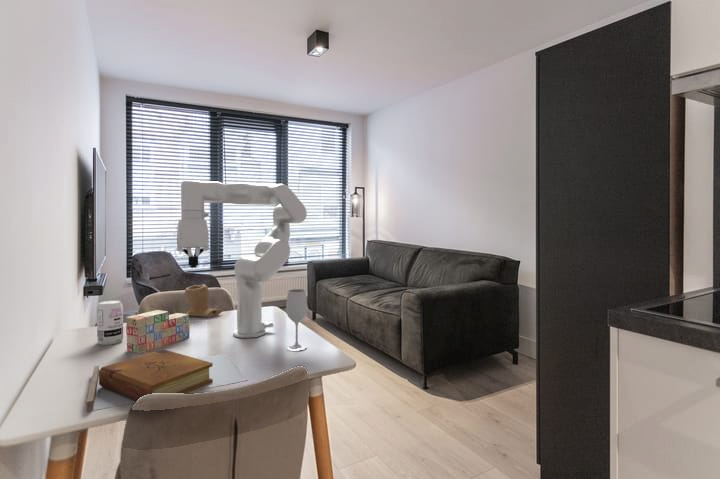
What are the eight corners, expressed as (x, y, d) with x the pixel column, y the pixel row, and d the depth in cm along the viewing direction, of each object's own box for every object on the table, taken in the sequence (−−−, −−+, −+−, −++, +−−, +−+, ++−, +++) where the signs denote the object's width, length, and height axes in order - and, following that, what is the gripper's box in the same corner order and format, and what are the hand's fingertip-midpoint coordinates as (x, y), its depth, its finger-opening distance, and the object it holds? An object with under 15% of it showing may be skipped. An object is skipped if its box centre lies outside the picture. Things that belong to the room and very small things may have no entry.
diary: (99, 388, 108) (98, 367, 108) (163, 367, 124) (162, 348, 124) (149, 409, 96) (149, 385, 96) (212, 382, 113) (212, 362, 112)
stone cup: (179, 317, 185) (179, 285, 185) (197, 312, 197) (197, 282, 196) (206, 320, 181) (205, 288, 180) (222, 314, 192) (222, 284, 191)
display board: (227, 354, 137) (227, 346, 136) (247, 381, 114) (247, 371, 114) (94, 375, 117) (94, 366, 117) (87, 412, 95) (86, 401, 95)
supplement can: (105, 338, 152) (104, 300, 151) (127, 338, 152) (126, 300, 152) (92, 345, 144) (91, 304, 143) (116, 345, 144) (115, 304, 143)
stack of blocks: (178, 335, 157) (178, 305, 157) (189, 337, 155) (189, 306, 154) (126, 351, 138) (125, 316, 138) (138, 354, 135) (137, 318, 135)
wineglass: (299, 343, 148) (299, 288, 147) (311, 348, 143) (311, 290, 142) (281, 348, 143) (281, 290, 142) (294, 353, 138) (294, 293, 137)
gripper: (213, 216, 147) (213, 265, 148) (168, 215, 139) (169, 267, 140) (217, 216, 141) (217, 267, 141) (170, 215, 133) (171, 269, 134)
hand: (193, 267), depth 141 cm, fingers closed
